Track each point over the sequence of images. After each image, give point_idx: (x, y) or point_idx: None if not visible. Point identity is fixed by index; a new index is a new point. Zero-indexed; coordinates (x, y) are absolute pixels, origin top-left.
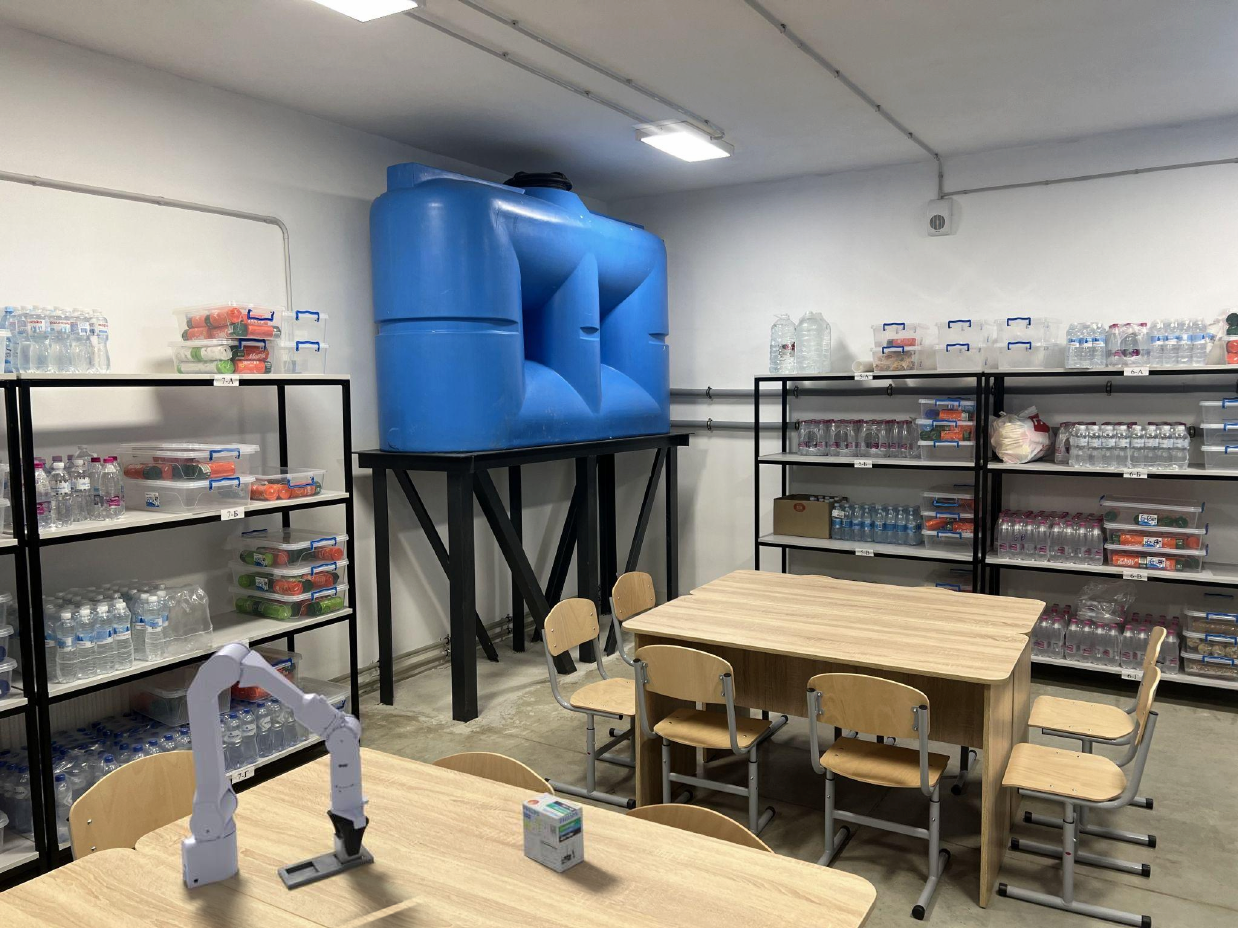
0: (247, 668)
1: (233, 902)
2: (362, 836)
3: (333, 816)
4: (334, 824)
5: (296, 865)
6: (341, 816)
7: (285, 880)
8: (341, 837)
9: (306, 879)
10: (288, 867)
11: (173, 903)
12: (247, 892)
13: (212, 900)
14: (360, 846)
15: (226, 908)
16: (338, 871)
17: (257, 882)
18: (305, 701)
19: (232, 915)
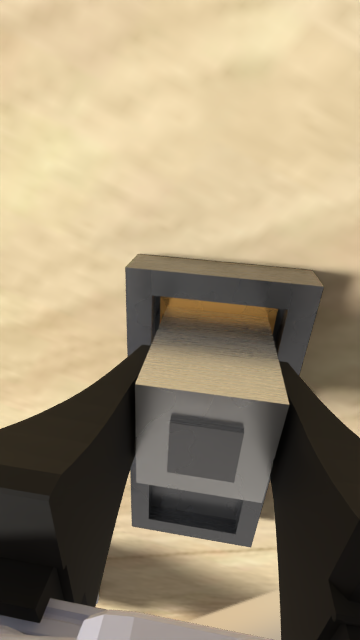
0: None
1: (185, 576)
2: (350, 430)
3: (91, 601)
4: (113, 525)
5: (147, 493)
6: (95, 543)
7: (218, 540)
8: (217, 480)
9: (259, 509)
10: (144, 508)
11: None
12: (162, 551)
13: (146, 588)
14: (303, 381)
15: (201, 589)
16: None
17: (128, 526)
18: None
19: (240, 594)
